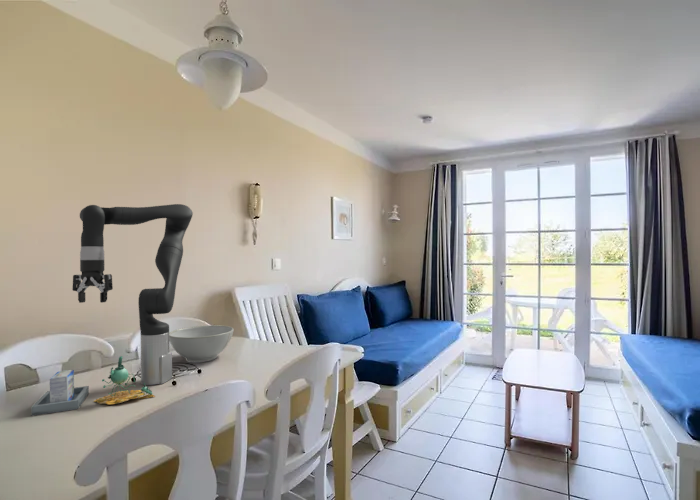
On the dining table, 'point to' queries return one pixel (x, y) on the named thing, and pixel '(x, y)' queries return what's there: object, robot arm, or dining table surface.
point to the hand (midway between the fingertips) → (92, 302)
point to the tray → (46, 407)
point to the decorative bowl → (200, 341)
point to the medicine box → (62, 386)
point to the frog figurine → (118, 378)
